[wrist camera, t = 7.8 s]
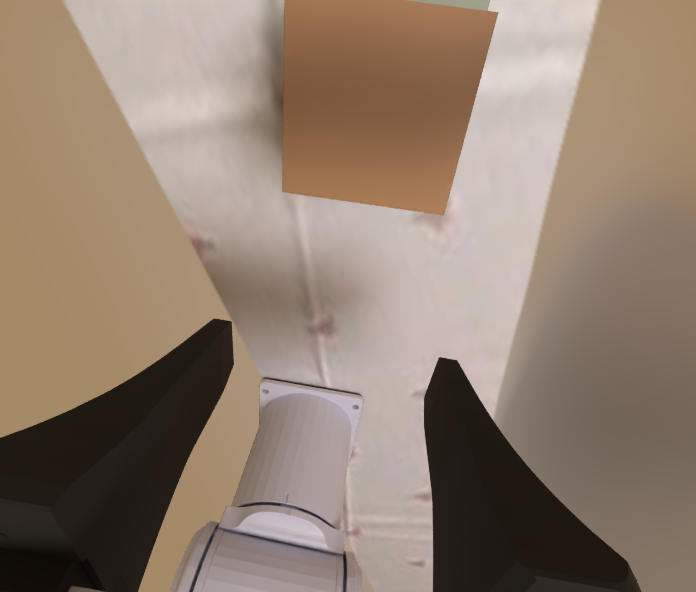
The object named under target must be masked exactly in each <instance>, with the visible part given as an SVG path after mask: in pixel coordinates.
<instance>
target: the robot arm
mask: <svg viewBox="0 0 696 592" xmlns="http://www.w3.org/2000/svg"><path fill="white" fill-rule="evenodd" d="M233 365H234V360H233V341H232V322H231V321H225V320H220V319H213V320H211V321H210V322H209V323H207V324H206V325H205V326H203V327H202V328H201V329H200V330H199V331H197V332H196V333H195V334H193V335H192V336H191V337H189V338H188V339H187V340H186V341H184V342H183V343H182V344H180V345H179V346H178V347H176V348H175V349H173V350H172V351H171V352H169V353H168V354H167V355H165V356H164V357H163V358H161V359H160V360H158V361H157V362H155V363H154V364H152V365H151V366H149V367H148V368H146V369H145V370H143V371H142V372H140V373H139V374H137V375H136V376H134V377H132V378H131V379H129V380H127V381H126V382H124V383H122V384H120V385H119V386H117V387H115V388H113V389H112V390H110V391H108V392H106V393H104V394H102V395H100V396H98V397H96V398H94V399H92V400H90V401H88V402H86V403H84V404H82V405H80V406H78V407H76V408H74V409H72V410H69V411H67V412H65V413H63V414H61V415H58V416H56V417H53V418H51V419H49V420H46V421H44V422H41V423H39V424H37V425H34V426H32V427H29V428H27V429H24V430H21V431H18V432H15V433H13V434H10V435H7V436H4V437H1V438H0V592H138V589H139V587H140V584H141V581H142V578H143V575H144V572H145V569H146V567H147V564H148V561H149V558H150V555H151V552H152V549H153V547H154V544H155V541H156V539H157V536H158V533H159V530H160V527H161V525H162V522H163V520H164V517H165V514H166V512H167V509H168V507H169V504H170V501H171V499H172V497H173V494H174V491H175V489H176V486H177V484H178V482H179V479H180V477H181V474H182V472H183V469H184V467H185V465H186V462H187V460H188V458H189V456H190V454H191V451H192V449H193V447H194V445H195V444H196V442H197V440H198V438H199V436H200V434H201V432H202V430H203V429H204V427H205V425H206V423H207V421H208V419H209V418H210V416H211V414H212V412H213V410H214V408H215V406H216V404H217V402H218V401H219V399H220V397H221V395H222V393H223V391H224V388H225V386H226V383H227V381H228V378H229V375H230V373H231V370H232V368H233ZM266 389H267V390H266ZM362 406H363V398H362V397H361V396H360V395H355V394H350V393H344V392H338V391H332V390H327V389H321V388H315V387H309V386H304V385H298V384H292V383H286V382H281V381H275V380H269V379H263V380H261V382H260V385H259V429H258V432H257V434H256V437H255V441H254V443H253V446H252V449H251V451H250V454H249V457H248V460H247V463H246V466H245V469H244V471H243V474H242V477H241V480H240V483H239V486H238V488H237V492H236V494H235V497H234V500H233V503H232V505H231V506H226V508H225V511H224V513H223V516H222V519H221V521H220V523H217V522H213V521H210V522H208V523H207V524H206V525H205V526H204V527H203V528H201V529H200V530H198V531H197V532H196V533H195V534H194V536H193V537H192V539H191V541H190V543H189V545H188V547H187V549H186V551H185V553H184V555H183V557H182V560H181V562H180V565H179V567H178V569H177V572H176V574H175V577H174V579H173V582H172V585H171V588H170V591H169V592H363V583H362V572H361V568H360V566H359V564H358V562H357V561H356V557H355V555H354V554H353V553H352V552H349V551H344V545H345V544H344V543H345V536H346V533H345V532H344V531H340V527H341V518H342V510H343V501H344V492H345V483H346V475H347V467H348V465H349V460H350V456H351V452H352V448H353V444H354V439H355V435H356V431H357V427H358V423H359V418H360V414H361V410H362ZM424 429H425V438H426V447H427V455H428V464H429V472H430V481H431V489H432V502H433V592H641V590H640V588H639V585H638V583H637V580H636V578H635V576H634V574H633V573H632V570H631V568H630V566H629V564H628V563H627V561H626V560H625V559H624V558H622V557H621V556H620V555H619V554H618V553H616V552H615V551H614V550H613V549H612V548H611V547H610V546H608V545H607V544H606V543H605V542H604V541H603V540H601V539H600V538H599V537H598V536H597V535H596V534H594V533H593V532H592V531H591V530H590V529H589V528H588V527H587V526H585V525H584V524H583V523H582V522H581V521H580V520H579V519H578V518H577V517H576V516H575V515H574V514H573V513H572V512H571V511H570V510H569V509H567V508H566V507H565V506H564V505H563V504H562V503H561V502H560V501H559V500H558V499H557V498H556V497H555V496H554V495H553V494H552V492H551V491H550V490H549V489H548V488H547V487H546V486H545V485H544V484H543V483H542V482H541V481H540V480H539V478H538V477H537V476H536V475H535V474H534V473H533V472H532V471H531V469H530V468H529V467H528V466H527V465H526V464H525V462H524V461H523V460H522V459H521V457H520V456H519V455H518V454H517V453H516V451H515V450H514V449H513V448H512V446H511V445H510V444H509V442H508V441H507V440H506V438H505V437H504V436H503V434H502V433H501V431H500V430H499V428H498V427H497V425H496V424H495V423H494V421H493V420H492V418H491V417H490V415H489V413H488V412H487V410H486V409H485V407H484V406H483V404H482V402H481V401H480V399H479V397H478V396H477V394H476V392H475V391H474V389H473V387H472V386H471V384H470V382H469V380H468V379H467V377H466V375H465V373H464V372H463V370H462V368H461V366H460V364H459V363H458V361H457V360H452V359H446V358H440V357H439V359H438V362H437V364H436V367H435V370H434V372H433V375H432V378H431V381H430V383H429V386H428V389H427V391H426V394H425V397H424Z"/></svg>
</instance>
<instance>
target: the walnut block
mask: <svg viewBox="0 0 696 592" xmlns="http://www.w3.org/2000/svg"><path fill="white" fill-rule="evenodd" d="M497 15H498V12H491V11H484V10H476V9H469V8H461V7H453V6H446V5H438V4H431V3H423V2H415V1H408V0H285V13H284V96H283V179H282V192H286V193H293V194H300V195H307V196H314V197H321V198H328V199H335V200H342V201H349V202H356V203H363V204H369V205H376V206H383V207H390V208H397V209H404V210H411V211H418V212H425V213H432V214H439V215H444V213H445V209H446V205H447V202H448V198H449V194H450V190H451V187H452V183H453V179H454V176H455V172H456V168H457V164H458V161H459V157H460V153H461V149H462V146H463V142H464V138H465V135H466V131H467V127H468V123H469V120H470V116H471V112H472V109H473V105H474V101H475V97H476V94H477V90H478V86H479V82H480V79H481V75H482V71H483V68H484V64H485V60H486V56H487V53H488V49H489V45H490V42H491V38H492V34H493V30H494V27H495V23H496V19H497Z"/></svg>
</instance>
